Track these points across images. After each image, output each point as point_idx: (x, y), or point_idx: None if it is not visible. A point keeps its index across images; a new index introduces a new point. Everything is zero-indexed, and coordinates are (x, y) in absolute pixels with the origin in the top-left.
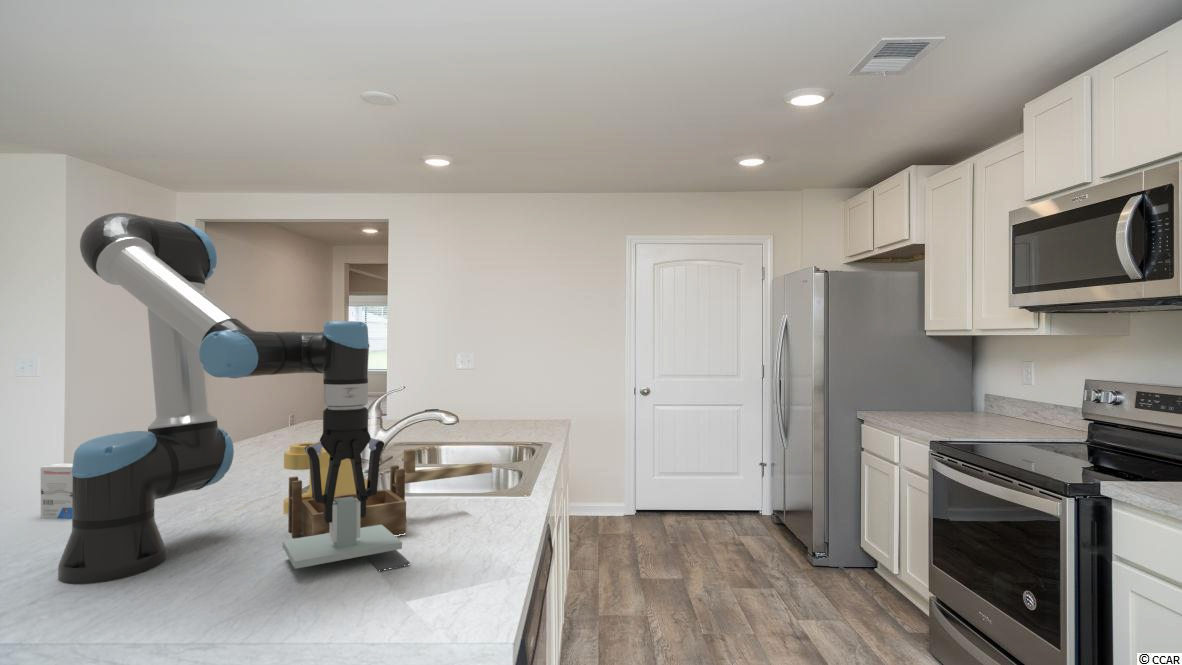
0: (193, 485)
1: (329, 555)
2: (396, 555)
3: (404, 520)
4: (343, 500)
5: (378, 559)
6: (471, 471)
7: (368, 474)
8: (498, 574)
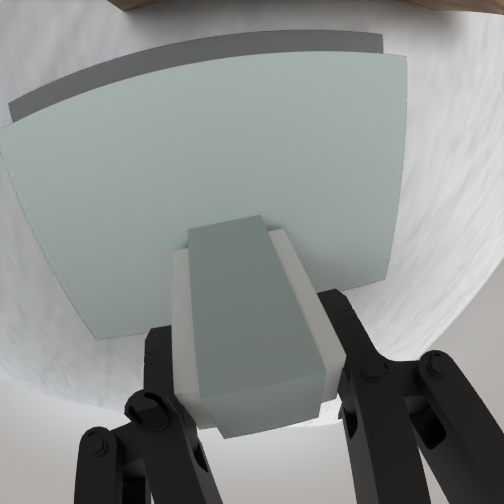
0: None
1: None
2: None
3: (468, 9)
4: (256, 420)
5: None
6: None
7: (467, 458)
8: (436, 318)
